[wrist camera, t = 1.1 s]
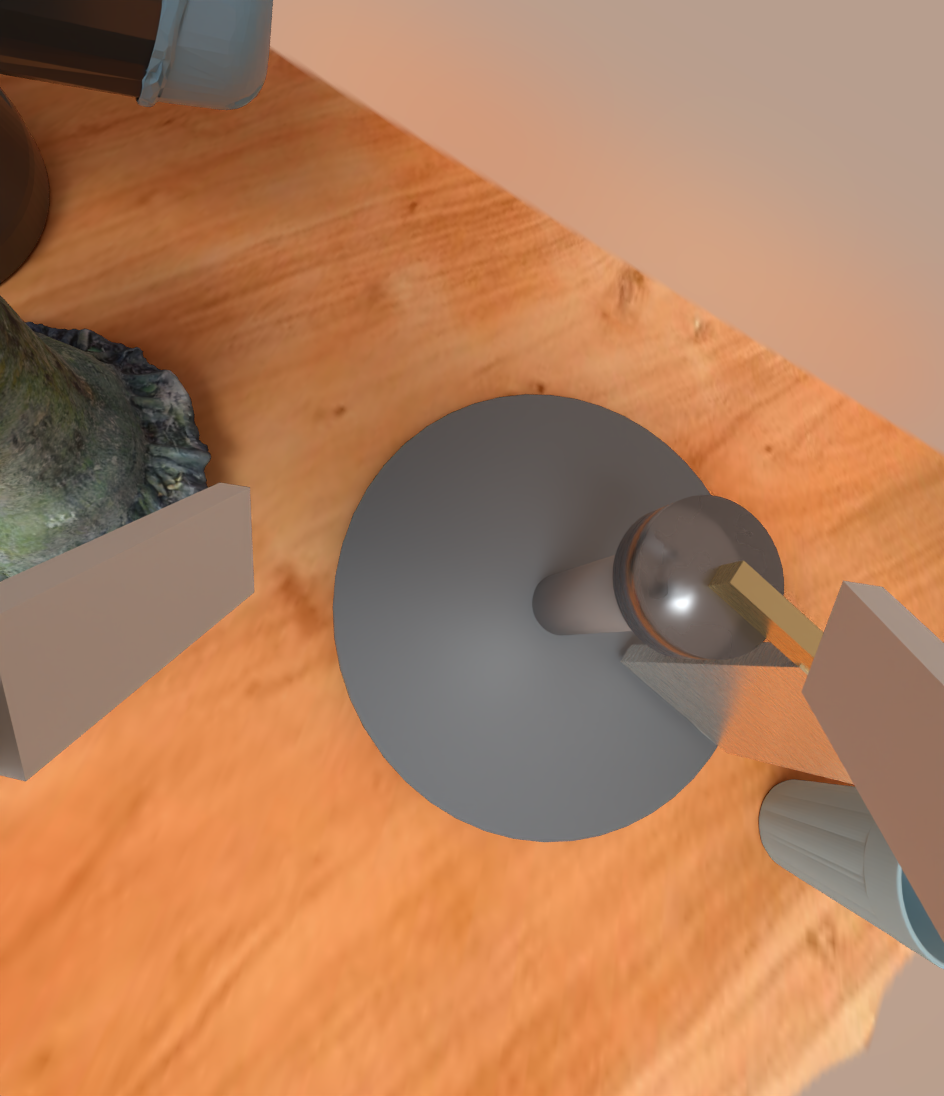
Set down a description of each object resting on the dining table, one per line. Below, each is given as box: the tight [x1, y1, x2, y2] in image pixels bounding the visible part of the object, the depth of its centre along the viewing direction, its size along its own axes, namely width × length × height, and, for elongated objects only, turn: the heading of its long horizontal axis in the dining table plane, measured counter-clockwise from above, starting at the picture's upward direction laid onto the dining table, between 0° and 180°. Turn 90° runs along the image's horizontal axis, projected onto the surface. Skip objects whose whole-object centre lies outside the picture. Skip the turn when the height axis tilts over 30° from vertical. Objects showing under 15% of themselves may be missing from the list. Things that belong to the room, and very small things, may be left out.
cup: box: [759, 779, 944, 969], centre depth 33 cm, size 8×8×10 cm
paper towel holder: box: [333, 394, 718, 842], centre depth 30 cm, size 26×26×12 cm
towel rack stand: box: [613, 495, 853, 784], centre depth 28 cm, size 19×6×14 cm, turn 52°
